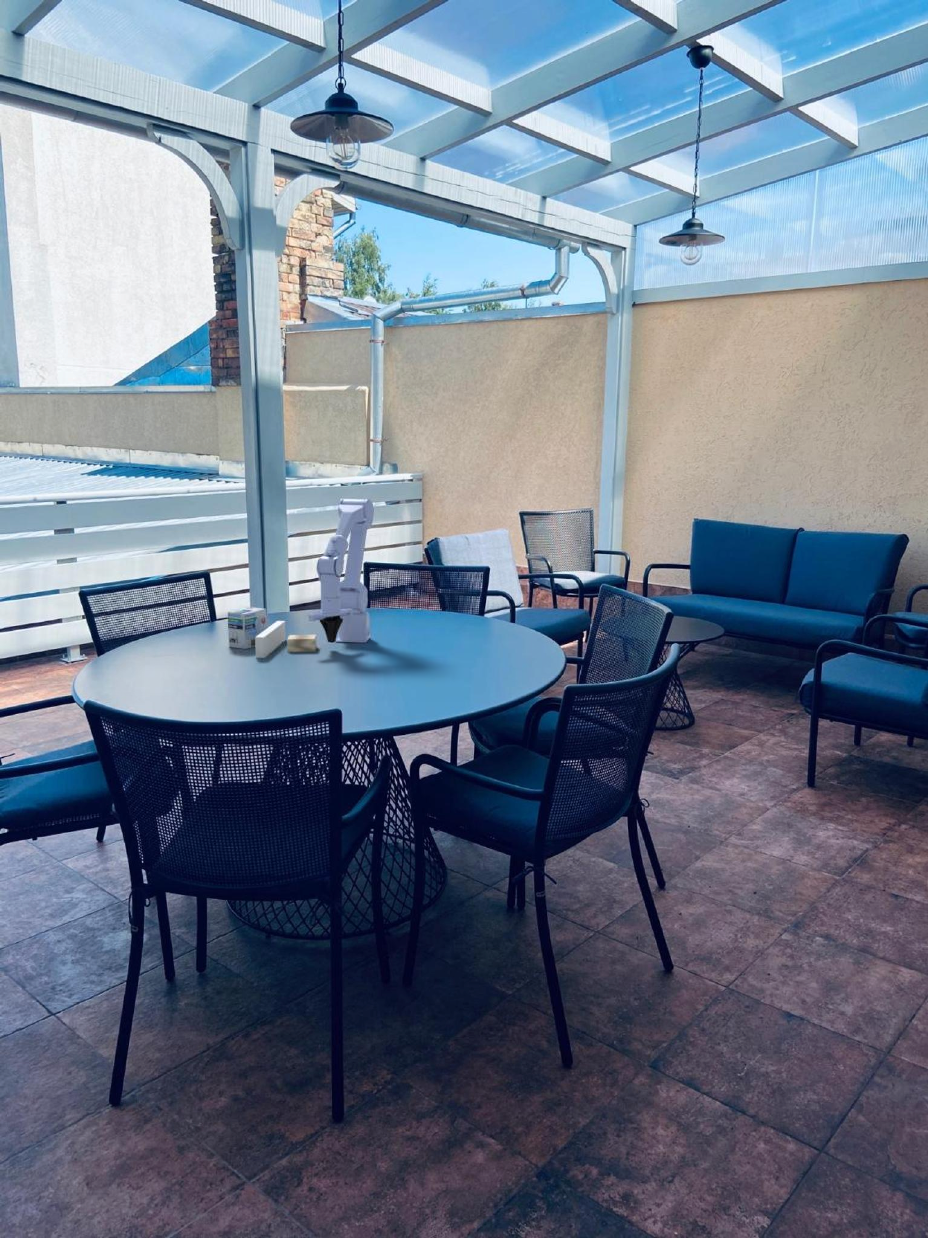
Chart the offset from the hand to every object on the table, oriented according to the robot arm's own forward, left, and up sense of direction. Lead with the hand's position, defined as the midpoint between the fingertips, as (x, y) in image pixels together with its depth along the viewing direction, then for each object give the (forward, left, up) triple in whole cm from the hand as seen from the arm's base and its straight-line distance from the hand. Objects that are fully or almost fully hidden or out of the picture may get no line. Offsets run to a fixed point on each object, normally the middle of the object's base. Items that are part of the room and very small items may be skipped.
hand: (331, 641), depth 266 cm
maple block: (+9, 0, -3) cm, 9 cm away
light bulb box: (+26, -4, -3) cm, 27 cm away
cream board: (+18, 0, -2) cm, 18 cm away
